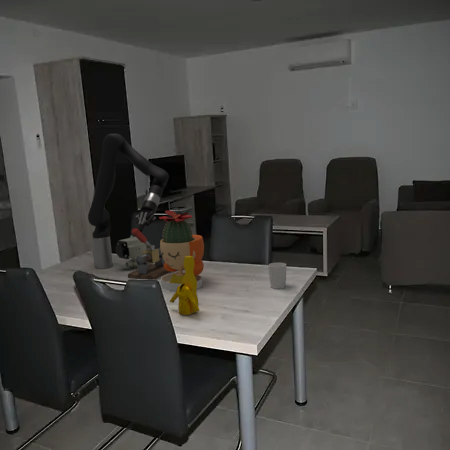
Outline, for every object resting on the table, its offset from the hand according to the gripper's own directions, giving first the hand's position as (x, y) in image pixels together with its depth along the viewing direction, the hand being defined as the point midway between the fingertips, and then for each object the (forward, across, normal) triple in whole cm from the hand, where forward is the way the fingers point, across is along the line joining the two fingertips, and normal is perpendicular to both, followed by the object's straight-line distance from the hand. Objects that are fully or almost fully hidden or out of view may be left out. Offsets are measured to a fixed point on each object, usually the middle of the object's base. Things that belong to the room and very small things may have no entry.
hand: (138, 231), depth 221 cm
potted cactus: (+19, +26, +15) cm, 35 cm away
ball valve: (+6, -17, +28) cm, 34 cm away
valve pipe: (+10, 0, +21) cm, 23 cm away
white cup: (+14, +70, +20) cm, 74 cm away
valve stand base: (+11, 0, +23) cm, 25 cm away
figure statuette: (+42, +47, -9) cm, 64 cm away
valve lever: (+1, 0, +13) cm, 13 cm away
